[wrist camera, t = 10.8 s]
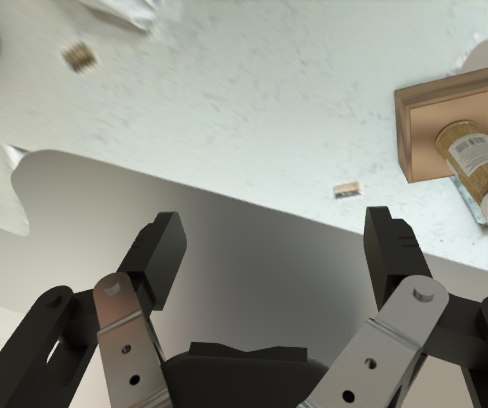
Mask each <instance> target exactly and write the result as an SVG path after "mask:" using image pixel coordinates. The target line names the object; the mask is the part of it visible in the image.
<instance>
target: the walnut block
mask: <svg viewBox="0 0 488 408" xmlns="http://www.w3.org/2000/svg"><path fill="white" fill-rule="evenodd" d="M394 93H395V110H396V127H397V144H398V162H399V165H400V167H401V169H402V171H403V173H404V175H405V177H406V179H407V181H408V184H409V183H415V182H420V181H426V180H432V179H438V178H444V177H449V176H455V174H454V173H453V172H452V171H451V169H450V168H449V166H448V165H447V162H446V161H445V160H444V158H443V157H442V156H440V155H439V154H438V152H437V150H436V147H435V141H436V139H437V137H438V135H439V133H440V132H441V131H442V130H443V129H444V128H445V127H447V126H449V125H450V124H452V123H455V122H458V121H472V122H474V123H476V124H478V125H479V126H480V128H481V129H482V131H483V132H484V133H485V134H486V135H488V68H484V69H480V70H476V71H473V72H468V73H464V74H460V75H456V76H452V77H448V78H444V79H440V80H436V81H432V82H428V83H424V84H420V85H416V86H412V87H408V88H404V89H400V90H396V91H394Z"/></svg>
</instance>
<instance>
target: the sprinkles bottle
mask: <svg viewBox="0 0 488 408" xmlns="http://www.w3.org/2000/svg"><path fill="white" fill-rule="evenodd" d="M435 147H436V150H437V152H438V154H439V155H440V156H442V157H443V158H444V160H445V161H446V162H447V165H448V166H449V168H450V169H451V171H452V172H453V173H454V174H455V176H456V177H457V178H458V180H459V181H460V182H461V183H462V184H463V185H464V187H465V188H466V189H467V191H468V192H469V193H470V195H471V196H472V197H473V199H474V200H475V201H476V202H477V204H478V205H479V206H480V209H481V213H482V215H483V216H484V218H485V219H486V220H487V222H488V135H486V134H485V133H484V132H483V131H482V129H481V128H480V126H479V125H478V124H476V123H474V122H472V121H458V122H455V123H452V124H450V125H449V126H447V127H445V128H444V129H443V130H442V131H441V132H440V133H439V135H438V137H437V139H436V141H435Z"/></svg>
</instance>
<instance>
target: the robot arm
mask: <svg viewBox="0 0 488 408" xmlns="http://www.w3.org/2000/svg"><path fill="white" fill-rule="evenodd" d="M363 238H364V239H363V241H364V250H365V255H366V260H367V264H368V268H369V273H370V278H371V282H372V286H373V291H374V295H375V300H376V304H377V309H378V314H377V316H376V317H375V318H374V319H371V318H369V319H367V320H366V321H365V322H364V324H363V325H362V326H361V328H360V329H359V330H358V332H357V333H356V334H355V336H354V337H353V338H352V340H351V341H350V342H349V343H348V345H347V346H346V347H345V349H344V350H343V352H342V353H341V354H340V355H339V357H338V358H337V360H336V361H335V362H334V363H333V365H332V366H331V367H330V368H329V367H328V366H326V365H324V364H323V363H321V362H319V361H317V360H315V359H312V358H309V357H307V348H300V347H280V346H278V347H272V348H266V349H262V350H256V351H251V352H244V351H240V350H237V349H234V348H231V347H228V346H225V345H222V344H219V343H203V342H191V345H190V349H189V351H187V352H184V353H181V354H178V355H176V356H174V357H172V358H170V359H169V360H166V358H165V356H164V353H163V351H162V348H161V346H160V343H159V340H158V337H157V335H156V333H155V330H154V327H153V324H152V322H151V319H150V314H151V312H152V310H155V311H162V310H163V307H164V305H165V302H166V300H167V297H168V295H169V292H170V290H171V287H172V284H173V282H174V279H175V277H176V274H177V272H178V269H179V267H180V264H181V261H182V259H183V256H184V254H185V251H186V247H187V239H186V235H185V232H184V229H183V226H182V223H181V220H180V217H179V214H178V212H160V213H158V215H157V217H156V219H155V220H154V222H153V223H149V224H148V225H147V226H145V227H144V228H143V229H142V230H141V231H140V232H139V234H138V236H137V237H136V239H135V241H134V242H133V244H132V246H131V248H130V250H129V251H128V253H127V255H126V256H125V258H124V259H123V261H122V263H121V265H120V267H119V268H118V270H117V271H116V273H112V274H109V275H107V276H105V277H104V278H102V279H101V280H100V281H99V282H98V283H97V284H96V285H95V287H94V289H90V290H86V291H82V292H79V293H73V291H72V289H71V288H70V287H68V286H63V285H62V286H57V287H54V288H51V289H50V290H48V291H46V292H45V293H43V294H42V295H41V296H40V297H39V298H38V299H37V300H36V302H35V303H34V305H33V306H32V307H31V309H30V310H29V312H28V313H27V314H26V316H25V317H24V319H23V320H22V321H21V323H20V324H19V326H18V327H17V329H16V330H15V331H14V333H13V334H12V336H11V337H10V338H9V340H8V341H7V343H6V344H5V345H4V347H3V348H2V350H1V351H0V408H68V407H69V405H70V403H71V401H72V399H73V397H74V394H75V392H76V390H77V388H78V386H79V384H80V382H81V379H82V377H83V375H84V373H85V371H86V368H87V366H88V364H89V362H90V360H91V358H92V356H93V354H94V351H95V349H96V347H97V345H98V343H99V348H100V353H101V358H102V363H103V368H104V373H105V378H106V383H107V388H108V393H109V398H110V403H111V408H401V406H402V404H403V401H404V399H405V397H406V395H407V393H408V391H409V389H410V388H411V386H412V384H413V382H414V381H415V379H416V377H417V375H418V373H419V371H420V370H421V368H422V366H423V364H424V363H425V361H426V359H427V357H428V355H430V356H433V357H436V358H439V359H442V360H445V361H448V362H451V363H454V364H457V365H460V366H461V370H462V373H463V376H464V379H465V382H466V385H467V388H468V391H469V394H470V397H471V400H472V403H473V406H474V408H488V297H487V298H485V299H484V300H483V301H482V303H480V302H476V301H472V300H469V299H465V298H461V297H458V296H455V295H453V294H450V293H448V292H447V290H446V288H445V287H444V286H443V285H442V284H440V283H439V282H438V281H436V280H434V279H433V277H432V275H431V272H430V270H429V268H428V265H427V263H426V260H425V259H424V256H423V253H422V251H421V249H420V247H419V244H418V241H417V239H416V237H415V234H414V232H413V230H412V227H411V226H410V225H408V224H407V223H406V222H405V221H404V220H403V219H392V217H391V214H390V212H389V209H388V207H387V206H375V207H367V209H366V216H365V226H364V237H363ZM57 340H58V341H59V343H58V345H57V347H56V349H55V351H54V352H53V354H52V356H51V358H50V359H49V361H48V363H47V358H48V356H49V354H50V352H51V351H52V349H53V347H54V345H55V344H56V342H57ZM46 364H47V365H46Z"/></svg>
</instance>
